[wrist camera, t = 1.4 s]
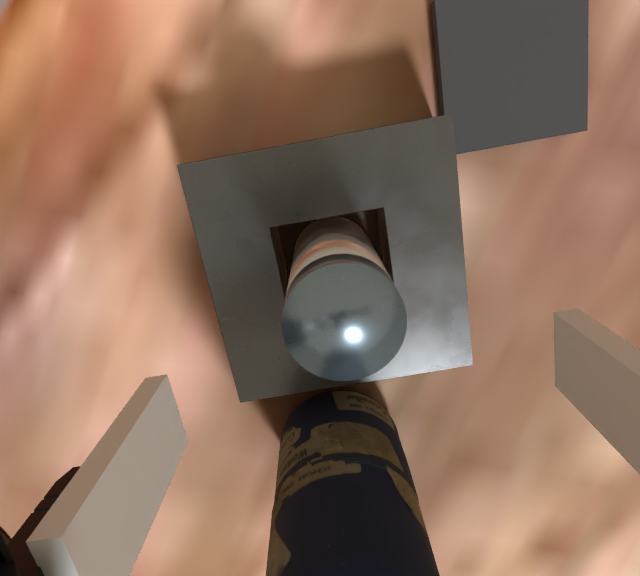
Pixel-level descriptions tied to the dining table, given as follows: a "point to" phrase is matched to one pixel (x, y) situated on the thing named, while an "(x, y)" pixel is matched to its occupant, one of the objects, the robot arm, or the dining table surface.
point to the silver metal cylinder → (341, 303)
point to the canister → (345, 495)
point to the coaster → (511, 69)
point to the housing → (326, 201)
